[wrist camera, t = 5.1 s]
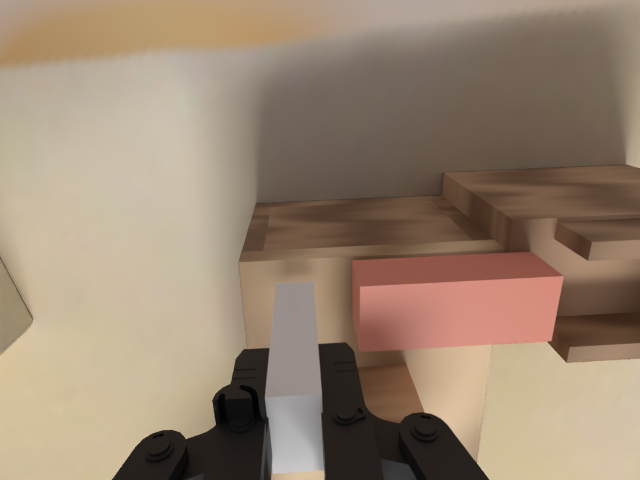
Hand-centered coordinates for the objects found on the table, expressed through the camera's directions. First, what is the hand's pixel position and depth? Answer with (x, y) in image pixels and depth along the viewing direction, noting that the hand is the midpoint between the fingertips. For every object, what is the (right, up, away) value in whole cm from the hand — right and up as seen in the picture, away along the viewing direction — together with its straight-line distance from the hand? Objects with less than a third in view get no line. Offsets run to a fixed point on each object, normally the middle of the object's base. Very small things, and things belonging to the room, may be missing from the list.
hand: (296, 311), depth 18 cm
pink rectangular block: (+6, +1, +2) cm, 7 cm away
